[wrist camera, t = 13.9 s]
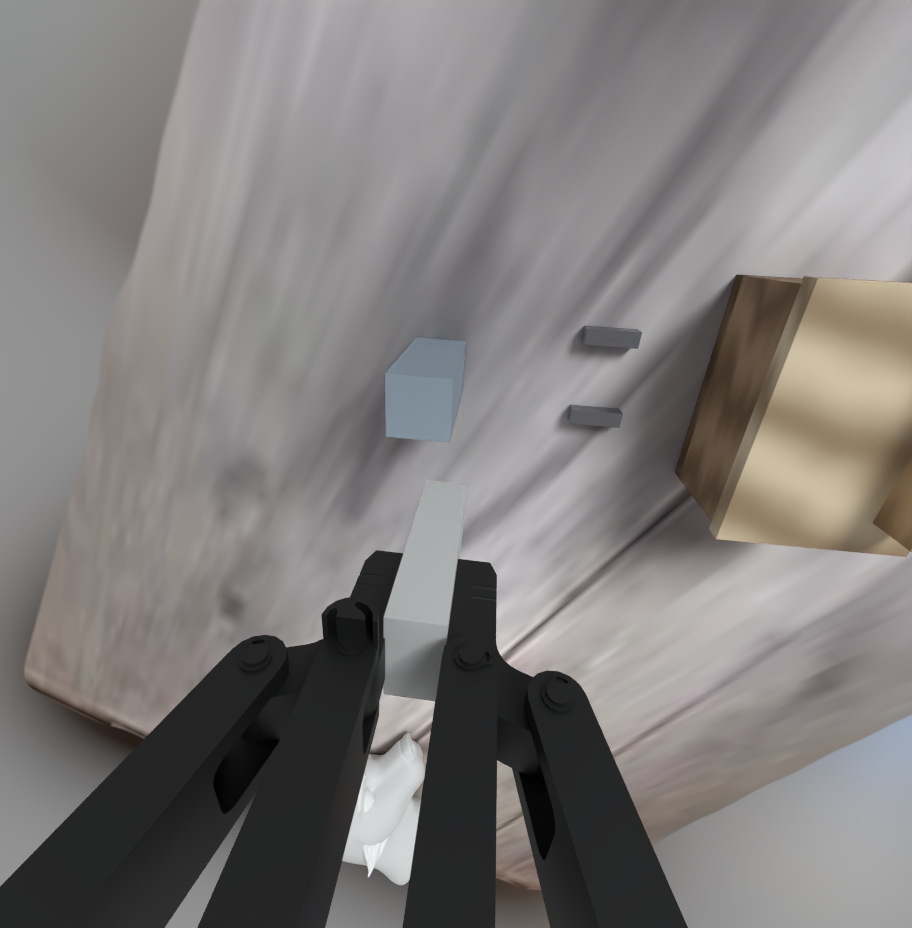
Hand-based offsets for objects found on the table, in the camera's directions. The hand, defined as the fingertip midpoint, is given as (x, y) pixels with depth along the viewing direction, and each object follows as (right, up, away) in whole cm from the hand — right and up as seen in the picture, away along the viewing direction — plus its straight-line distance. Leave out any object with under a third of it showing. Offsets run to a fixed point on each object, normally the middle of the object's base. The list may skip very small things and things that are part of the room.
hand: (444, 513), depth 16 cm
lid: (+25, +4, +11) cm, 28 cm away
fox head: (-10, -38, +45) cm, 60 cm away
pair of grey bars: (+12, +9, +19) cm, 24 cm away
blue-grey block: (-1, +10, +20) cm, 22 cm away
